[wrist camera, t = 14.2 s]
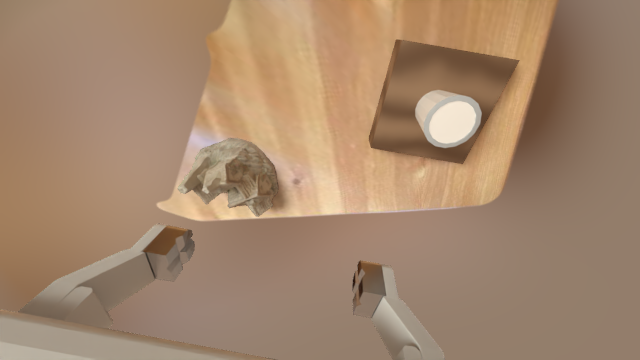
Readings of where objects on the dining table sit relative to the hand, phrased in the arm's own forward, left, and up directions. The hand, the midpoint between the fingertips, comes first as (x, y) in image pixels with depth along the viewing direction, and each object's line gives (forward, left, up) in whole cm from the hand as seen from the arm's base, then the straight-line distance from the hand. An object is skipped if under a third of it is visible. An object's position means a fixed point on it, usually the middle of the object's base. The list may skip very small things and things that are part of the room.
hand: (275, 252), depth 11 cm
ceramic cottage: (+19, -16, -34) cm, 43 cm away
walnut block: (-2, +17, -35) cm, 39 cm away
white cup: (-2, +17, -30) cm, 34 cm away
